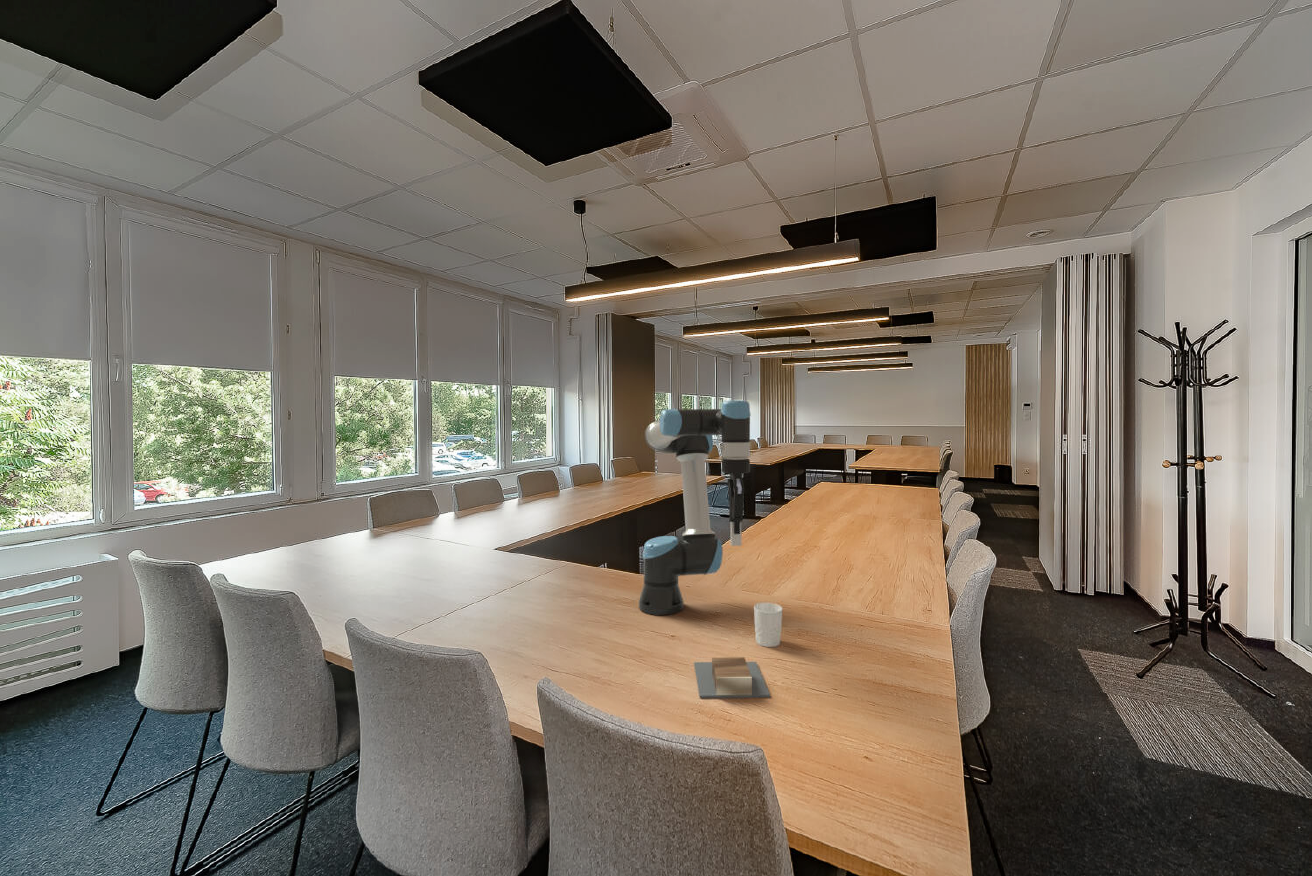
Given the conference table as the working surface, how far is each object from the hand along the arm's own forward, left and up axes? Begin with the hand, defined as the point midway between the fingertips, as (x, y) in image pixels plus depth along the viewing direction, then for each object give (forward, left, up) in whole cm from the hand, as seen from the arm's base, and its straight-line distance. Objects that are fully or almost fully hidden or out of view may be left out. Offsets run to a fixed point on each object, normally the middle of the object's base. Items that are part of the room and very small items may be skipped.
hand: (736, 545), depth 138 cm
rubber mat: (+15, -4, -29) cm, 33 cm away
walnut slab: (+13, -4, -27) cm, 30 cm away
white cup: (-6, +10, -30) cm, 32 cm away
